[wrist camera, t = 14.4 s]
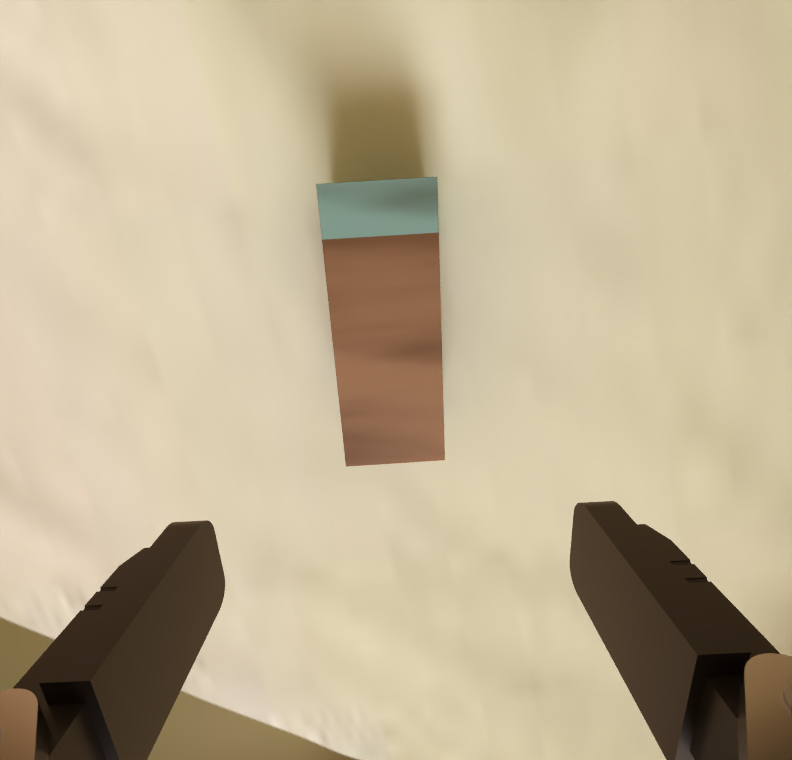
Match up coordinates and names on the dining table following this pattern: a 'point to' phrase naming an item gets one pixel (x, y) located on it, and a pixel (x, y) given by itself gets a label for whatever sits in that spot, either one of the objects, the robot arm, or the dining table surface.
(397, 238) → the green and brown block
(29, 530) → the dining table surface
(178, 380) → the dining table surface
